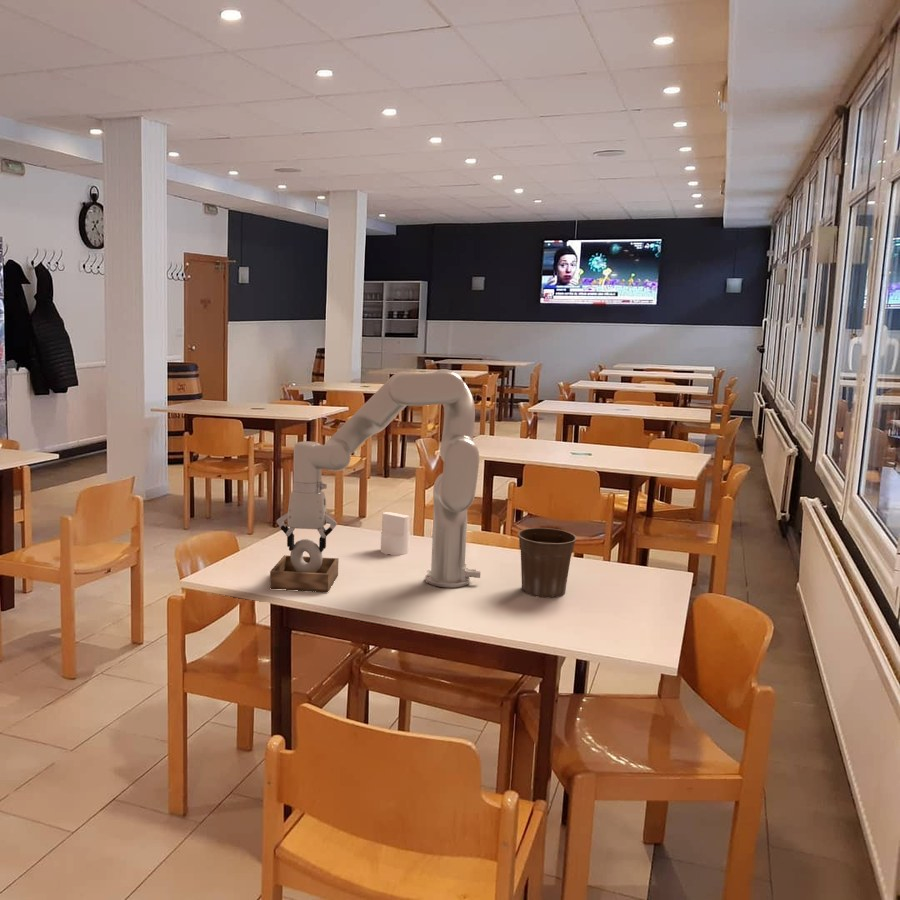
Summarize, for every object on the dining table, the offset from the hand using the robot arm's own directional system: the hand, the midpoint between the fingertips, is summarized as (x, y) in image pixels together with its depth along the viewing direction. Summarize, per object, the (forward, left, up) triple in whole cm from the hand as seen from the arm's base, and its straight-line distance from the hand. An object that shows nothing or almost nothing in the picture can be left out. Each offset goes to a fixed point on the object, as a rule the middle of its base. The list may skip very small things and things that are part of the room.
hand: (306, 549), depth 228 cm
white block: (-21, -36, -10) cm, 43 cm away
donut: (0, 0, -7) cm, 7 cm away
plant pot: (-66, -4, -10) cm, 67 cm away
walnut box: (0, 0, -9) cm, 9 cm away
